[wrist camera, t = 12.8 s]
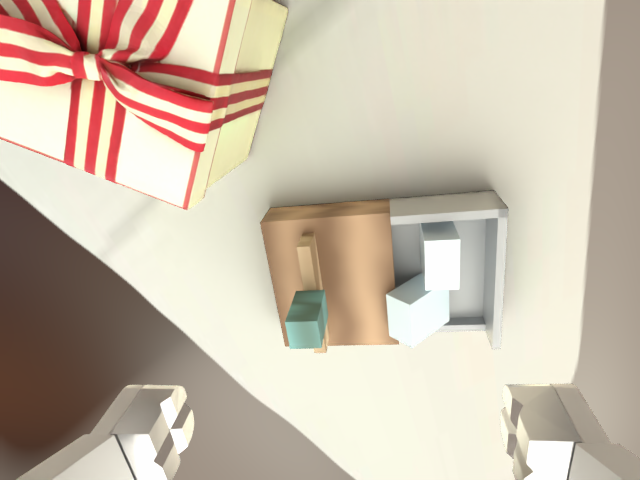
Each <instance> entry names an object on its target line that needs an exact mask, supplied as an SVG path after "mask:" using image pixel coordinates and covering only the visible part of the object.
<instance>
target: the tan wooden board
mask: <svg viewBox="0 0 640 480" xmlns="http://www.w3.org/2000/svg"><path fill="white" fill-rule="evenodd" d="M260 224H261V229H262V234H263V239H264V244H265V249H266V254H267V259H268V264H269V269H270V274H271V278H272V283H273V288H274V293H275V298H276V303H277V308H278V313H279V318H280V323H281V328H282V333H283V338H284V343H285V346H289V341H288V336H287V330H286V325H285V320H286V318H287V315H288V312H289V309H290V306H291V303H292V301H293V298H294V295H295V292H296V291H304V287H303V281H302V275H301V269H300V263H299V258H298V252H297V245H298V243H299V241H300V238H301V236H302V234H306V233H315V239H316V246H317V253H318V260H319V267H320V273H321V280H322V287H323V290H325V295H326V302H327V309H328V319H327V321H328V328H329V340H328V345H327V346H335V345H391V344H399V341H398V340H396V339H394V338H392V337H391V336H389V327H388V314H387V301H386V294H387V293H389V292H391V291H392V290H394V289H395V276H394V261H393V246H392V231H391V220H390V200H389V199H380V200H367V201H354V202H342V203H329V204H316V205H304V206H291V207H278V208H270V209H269V210H268V212H267V213H266V215H265V216H264V218H263V219H262V221H261V222H260Z"/></svg>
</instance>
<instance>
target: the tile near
mask: <svg viewBox="0 0 640 480" xmlns="http://www.w3.org/2000/svg"><path fill="white" fill-rule="evenodd" d="M419 239H420V263H421V269H422V275H423V280H424V286H425V290H459V280H460V237H459V235H458V232H457V230H456V227H455V225H454V223H453V221H444V222H430V223H419Z"/></svg>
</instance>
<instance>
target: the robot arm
mask: <svg viewBox="0 0 640 480" xmlns="http://www.w3.org/2000/svg"><path fill="white" fill-rule="evenodd" d="M186 398H187V394H186V392H185V389H184V387H182V386H169V385H128V386H126V387H125V388H123V390H122V391H121V392H120V394H119V395H118V396H117V398H116V399H115V400H114V402H113V403H112V405H111V406H110V407H109V409H108V410H107V412H106V413H105V414H104V416H103V417H102V418H101V420H100V421H99V423H98V424H97V425H96V427H95V428H94V429H93V431H92V432H91V434H88V435H86V434H85V435H83V436H81V437H80V438H78V439H77V440H75V441H74V442H72V443H71V444H69V445H68V446H66V447H65V448H63V449H62V450H60V451H59V452H57V453H56V454H54V455H53V456H51V457H49V458H48V459H46V460H45V461H43V462H42V463H40V464H39V465H37V466H36V467H34V468H33V469H31V470H30V471H28V472H27V473H25V474H24V475H22V476H21V477H19V478H18V479H16V480H172V479H173V477H174V475H175V473H176V471H177V469H178V466H179V464H180V462H181V461H180V457H179V453H180V452H181V451H183V450H184V449H185V448H186V447H187V446H188V445H189V442H190V440H191V437H192V433H193V429H194V415H193V412H192V409H191V408H190V407H189V406H187V405H186V404H185V403H184V402H185V400H186ZM502 398H503V401H504V404H505V407H504V408H503V409H502V410H501V418H500V424H501V434H502V438H503V443H504V446H505V449H506V452H507V454H509V455H510V456H511V457H512V458H513V459H514V461H513V474H514V477H515V480H640V458H639V457H638V456H636V455H635V454H633V453H632V452H630V451H629V450H627V449H626V448H625V447H623V446H622V445H620V444H614V443H611V442H610V440H609V438H608V437H607V435H606V433H605V432H604V430H603V429H602V427H601V425H600V424H599V422H598V420H597V419H596V417H595V415H594V414H593V412H592V410H591V409H590V407H589V405H588V404H587V402H586V400H585V399H584V397H583V395H582V394H581V392H580V391H579V389H578V387H577V386H576V385H574V384H510V385H504V387H503V393H502Z"/></svg>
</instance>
